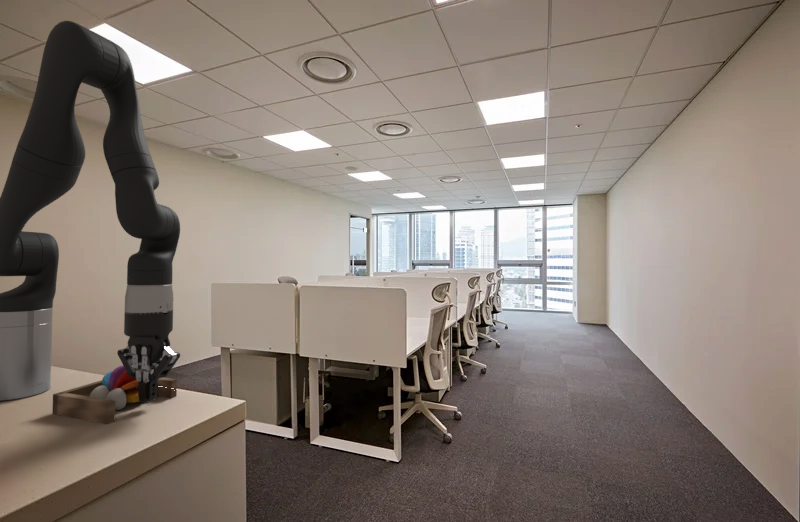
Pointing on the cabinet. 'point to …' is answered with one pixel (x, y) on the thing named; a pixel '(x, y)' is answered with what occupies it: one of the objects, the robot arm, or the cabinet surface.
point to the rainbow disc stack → (117, 388)
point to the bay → (98, 401)
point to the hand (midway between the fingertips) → (147, 400)
